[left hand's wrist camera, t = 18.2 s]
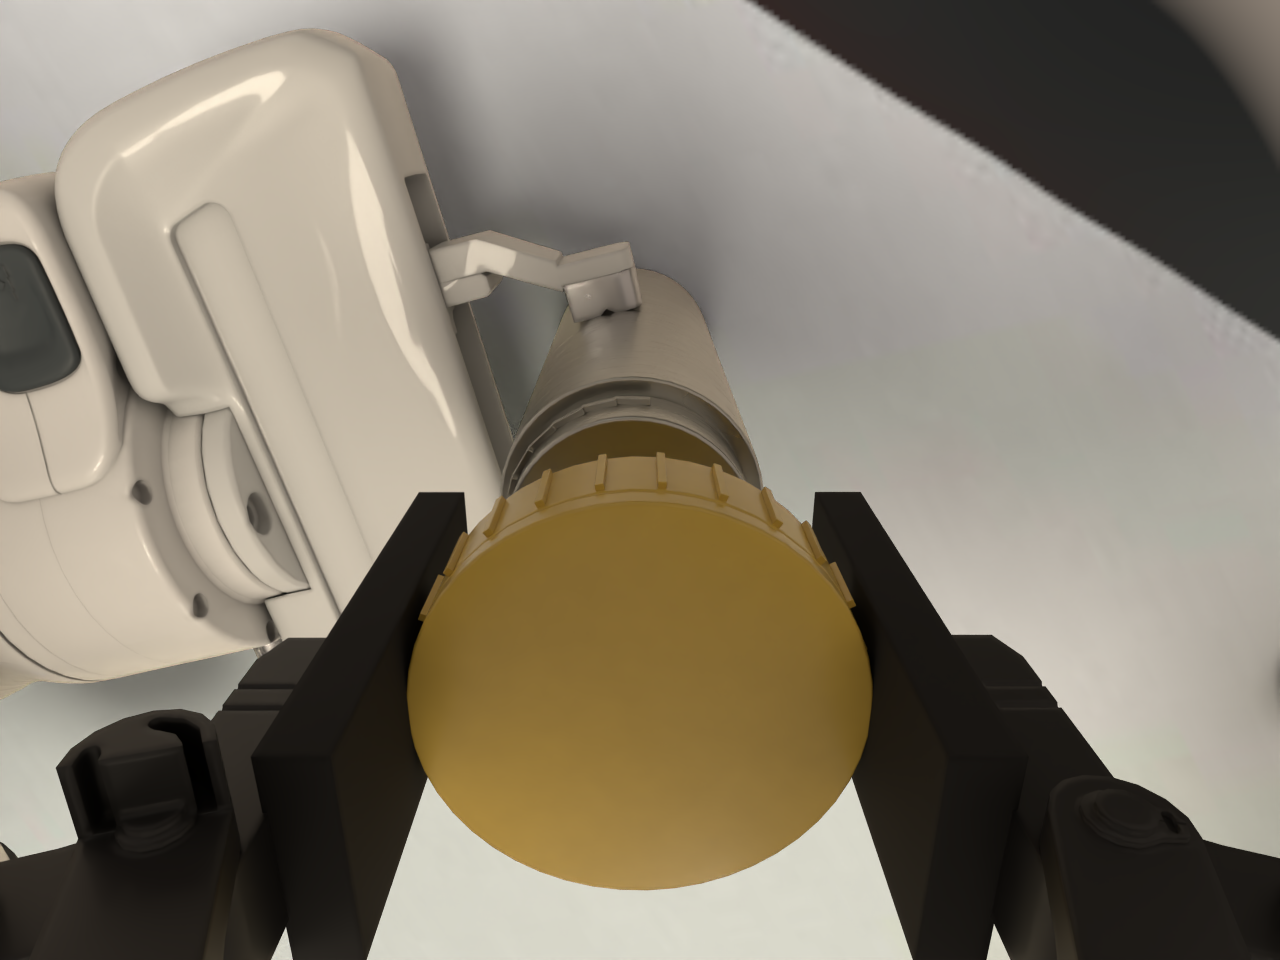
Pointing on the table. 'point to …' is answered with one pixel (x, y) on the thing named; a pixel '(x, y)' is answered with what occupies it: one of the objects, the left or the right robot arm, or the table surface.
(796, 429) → the table surface
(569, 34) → the table surface
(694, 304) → the jar
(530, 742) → the lid
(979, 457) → the table surface
